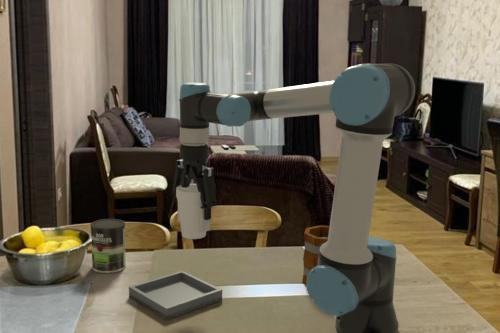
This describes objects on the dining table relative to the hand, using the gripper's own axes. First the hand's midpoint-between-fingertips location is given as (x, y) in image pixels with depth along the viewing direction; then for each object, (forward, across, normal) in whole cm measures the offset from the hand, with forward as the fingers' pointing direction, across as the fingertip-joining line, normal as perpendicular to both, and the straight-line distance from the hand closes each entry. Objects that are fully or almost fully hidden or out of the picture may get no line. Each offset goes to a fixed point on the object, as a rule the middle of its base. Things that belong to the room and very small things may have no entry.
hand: (193, 225), depth 158 cm
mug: (+20, -17, -39) cm, 47 cm away
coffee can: (+21, +34, +7) cm, 41 cm away
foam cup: (+3, 0, 0) cm, 3 cm away
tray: (+20, +2, +4) cm, 21 cm away
